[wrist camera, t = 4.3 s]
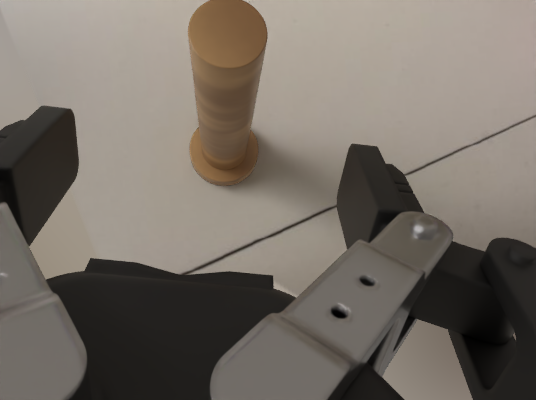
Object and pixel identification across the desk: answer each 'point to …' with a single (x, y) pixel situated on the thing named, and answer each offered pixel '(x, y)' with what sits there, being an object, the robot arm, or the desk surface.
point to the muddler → (225, 88)
